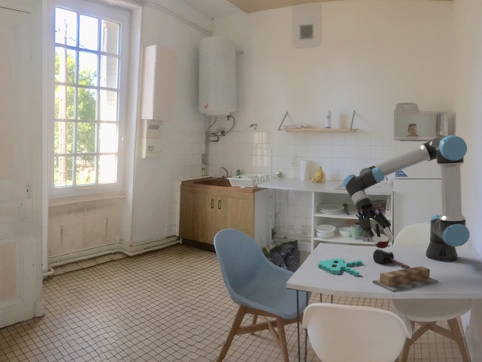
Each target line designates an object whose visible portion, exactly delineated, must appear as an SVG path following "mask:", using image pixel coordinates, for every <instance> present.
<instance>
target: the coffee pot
mask: <svg viewBox="0 0 482 362" xmlns="http://www.w3.org/2000/svg"><path fill="white" fill-rule="evenodd" d="M372 259H373V261H374V262H375V264H378V265H381V264H384V263H387V262H391V263H392V262H394V263H396V264H397V265H398V266H400V267H403V269H408V268H411V267H410V266H409V265H408V264H405V263H403V262H400V261H398V260H396V259H395V255H394V253H393V252H391V251H389V252H388V251H385V250H382V249H381V248H377V249H375V250H374V252H373V254H372Z"/></svg>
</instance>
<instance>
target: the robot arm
mask: <svg viewBox="0 0 482 362" xmlns="http://www.w3.org/2000/svg"><path fill="white" fill-rule="evenodd" d="M467 150H468V146H467V143H466V141H465V140H464V138H462V137H460V136H458V135H453V134H452V135H451V134H450V135H440V136H439V135H438V136H437V137H434V138H433V139H431V140H429V141H426V142H424V143H422V144H420V146H419V147H416V148H414V149H412V150H411V149H410V150H409V151H406V152H403V153H402V154H399V155H396V156H394V157H392V158H389V159H386V160H384V161H382V162H379V163H376V164H375V165H371V166H369V167H364V168H362V169H360V170H359V173H358V175H356V174H352V173H351V174H348V175H347V176H345V177H344V178H343V180H342V183H343V184H342V185H343V186H344V189H346V190H345V191H346V192H347V194H348V195H349V196H350V197H349V198H351V200H352V202H353V204H354V205H355V207H356V209H357V212H356V213H355V216H356V217H357V219H358V221H359V224H360V226H361V229H362V231H363V232H365V233H366V234H367V233H368V235H369V236H370V238H371V239H372V240H373V242H374V245H375V244H377V243H378V242H379V241H380V240H379V238H378V236H377V235H376V234H377V232H376V230H375V229H374V228H372V224H371V219H372V220H373V221H375V222H376V223H377V224H379V226H380V227H381V228H383V232H384V233H385V234H384V235H386V236H387V237H388V238H389V242H390V243H391V242H393V241H394V240H395V237H394V235H393V233H392V230H391V229H390V227H391V225H392V224H391V222H390V221H389V219H387V217H386V216H385V215H384V213H383V212H382V210H381V208H378V209H375V208H374V204H373V203H372V200H371V199H370V197H369V195H368V193H367V192H366V189H369V188H371V187H373V186H375V185H377V184H380V183H381V182H382V181H384V180H385V179H386V178H385V177H386V176H389V175H391V174H394V173H397V172H399V171H402V170H404V169H407V168H409V167H413V166H415V165H417V164H420V163H423V162H426V161H427V162H431V161H433V160H436V165H438V166H439V167H440V185H441V187H440V188H441V191H440V192H441V212H442V213H441V214H431V217H430V225H429V227H430V228H429V229H430V231H429V232H430V234H429V243H428V246H427V249H426V251H425V257H426V258H428V259H431V260H435V261H439V262H454V261H457V260H458V258H459V257H458V253H457V249H456V247H462V246H463V245H465V244H466V243H467V242H468V241H469V240H470V235H471V234H470V230H469V228H468V227H467V225H466V224H467V222H466V220H467V219H466V217H465V216H463V212H462V211H463V210H462V209H463V206H462V183H461V182H462V178H461V177H462V176H461V166H462V165H463V164H464V162H465V161H464V159H465V158H464V157H465V155H466V154H467V152H468V151H467Z"/></svg>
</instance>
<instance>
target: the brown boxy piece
mask: <svg viewBox="0 0 482 362" xmlns="http://www.w3.org/2000/svg"><path fill="white" fill-rule="evenodd" d="M438 282H439V281H438V279H435V278H432V277H431V270H430V268H428V267H424V266H415V267H410V268H408V269H405V268H402V269H397V270H393V271H387V272H382V273H380V274H379V279H375V280H374V279H373V280H372V283H373V284H376V285H377V286H380V287H381V288H383V289H386V290H388V291H390V292H392V293H393V292H397V291H401V290H402V291H403V290H408V289H412V288H416V287H417V288H418V287H422V286H426V285H430V284H436V283H438Z"/></svg>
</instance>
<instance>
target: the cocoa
mask: <svg viewBox="0 0 482 362" xmlns="http://www.w3.org/2000/svg"><path fill="white" fill-rule="evenodd" d="M374 225H375V233H376V235H377V236H378V238H379V240H380V241H379V242H378V243H377V244H375V243H374V245H375V246H376V248H377V249H386V248H387V247H388V245H389V242H390V241H389V238H388V237H387V235H386V234H384V233H381V231H380V225H379V224H378V223H377V222H376V223H374Z"/></svg>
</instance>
